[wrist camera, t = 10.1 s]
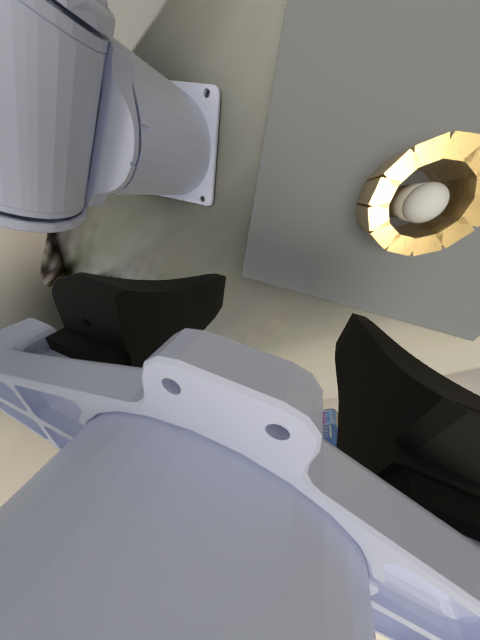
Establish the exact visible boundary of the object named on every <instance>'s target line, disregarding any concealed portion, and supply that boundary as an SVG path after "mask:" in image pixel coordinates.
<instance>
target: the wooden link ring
mask: <svg viewBox="0 0 480 640" xmlns="http://www.w3.org/2000/svg"><path fill="white" fill-rule="evenodd" d="M415 170H417V171H423V172H424V173H425V174H426V175H427V176H428V178H429V179H430V180H431V182H439V183H442V184H444V185H445V186H446V187H447V188H448V190H449V194H450V197H449V202H448V204H447V206H446V207H445V209H444V210H443V211H442V212H441V213H440V214H439V215H438V216H436V217H435V218H433V219H431V220H429V221H426V222H422V223H412V222H409V223H408V224H405V225H401V226H397V227H392V225H391V224H390V223H389V203H390V201H391V199H392V197H393V195H394V193H395V191H396V189H397V188H398V186H399V184H400V183H401V182H403V181H404V180H405V179H406V178H407V177H408V176H409V175H411V174H412V173H413V172H414V171H415ZM367 180H368V181H367V182H365V184H364V186H363V188H362V191H361V193H360V195H359V198H358V200H357V203H360V204H357V205H356V211H357V222H358V223H359V224H358V225H359V226H360V227H361V228H362V229H363V230H364V232H365V233H366V234H367V235H368V236H369V237H370V238H371V239H372V240H374V241H375V242H376V243H377V244H378V245H380V246H381V247H382V248H383V249H385V250H386V251H390V252H394V253H398V254H402V255H406V256H410V255H412V256H417V255H421V254H426V253H431V252H435V251H440V250H442V247H443V248H447V247H449V246H450V245H452V244H454V243H455V242H457V241H458V240H460V239H462V238H463V237H465V236H466V235H468V234H470V233H471V232H473V231H474V228H473V227H472V226H476V227H479V226H480V134H476V133H469V132H461V131H453V132H451V133H450V132H448V133H445V134H443V135H440V136H438V137H435V138H433V139H430V140H428V141H425V142H423V143H420V144H418V145H415V146H413V147H411V148H410V149H408V150H406V151H404V152H402V153H400V154H398V155H396V156H395V157H393V158H391V159H389V160H388V161H386V162H384V163H383V164H382V165H381V166H380V167H379V168H378V169H377V170H376V171H375V172H374V173H373V174H372V175H371V176H370V177H369V178H368V179H367Z"/></svg>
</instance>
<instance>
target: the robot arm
mask: <svg viewBox="0 0 480 640" xmlns="http://www.w3.org/2000/svg"><path fill="white" fill-rule="evenodd" d="M107 6H108V4H107V1H106V0H0V227H4V228H8V229H13V230H18V231H25V232H38V233H39V232H40V233H53V232H62V231H67V230H71V229H73V228H76V227H78V226H79V225H80V224H81V223H82V222H83V221H84V219H85V216H86V209H87V207H86V206H97V205H104V204H105V201H106V199H107V197H108V196H109V195H111V194H138V195H159V196H164V197H168V198H173V199H178V200H182V201H187V202H191V203H196V204H200V205H205V206H211V205H212V204H213V201H214V186H215V172H216V157H217V143H218V128H219V114H220V99H221V93H220V90H219V88H218V87H217V86H216V85H214V84H204V83H193V82H183V81H172V80H168V79H167V78H166V77H164V76H163V75H162V74H160V73H159V72H158V71H156V70H155V69H154V68H152V67H151V66H150V65H149V64H147V63H146V62H145V61H143V60H142V59H141V58H139V57H138V56H137V55H135V54H134V53H133V52H131V51H130V50H129V49H127V48H126V47H125V46H123V45H122V44H121V43H119V42H118V41H117V40H115V39H114V38H113V34H114V28H115V18H114V15H113V13H112V12H111V11H110V9H109V8H108V7H107ZM209 90H210V96H209V97H208V98H206V93H207V91H209ZM203 196H204V198H205V201H204V202H203V201H202V197H203ZM225 280H226V276H223V275H219V274H206V275H200V276H194V277H188V278H180V279H172V280H132V279H121V278H113V277H106V276H100V275H94V274H88V273H76V274H73V275H70V276H66V277H63V278H60V279H57V280H56V281H55V282H54V285H53V288H52V293H53V294H52V295H53V299H54V302H55V305H56V307H57V310H58V312H59V314H60V317H61V319H62V322H63V324H64V326H65V328H63V329H61V330H59V331H56V330H55V329H54V328H53V327H51V326H50V325H48V324H45V323H43V322H41V321H38V320H36V319H33V318H29V319H26V320H24V321H21V322H19V323H16V324H14V325H11V326H9V327H6V328H4V329H2V330H0V410H1V411H2V412H4V413H6V414H7V415H9V416H10V417H12V418H14V419H15V420H17V421H19V422H20V423H21V424H23V425H24V426H26V427H27V428H29V429H30V430H32V431H33V432H35V433H37V434H38V435H39V436H41V437H42V438H44V439H45V440H47V441H48V442H50V443H51V444H52V445H54V446H55V447H57V448H58V449H60V451H59V452H58V453H57V454H56V455H55V456H54V457H53V458H52V459H51V460H49V461H48V462H47V463H46V464H45V465H44V466H43V467H42V468H41V469H40V470H39V471H38V472H37V473H36V474H35V475H34V476H33V477H32V478H31V479H30V480H29V481H28V482H27V483H26V484H24V486H22V487H21V488H20V489H19V490H18V491H17V492H16V493H15V494H14V495H13V496H12V497H11V498H10V499H9V500H8V501H7V502H6V503H5V504H4V505H3V506H2V507H0V640H376V636H375V632H376V633H378V634H380V635H382V636H384V637H386V638H388V639H390V640H480V396H478V395H477V394H474V393H473V392H471V391H469V390H467V389H465V388H463V387H461V386H460V385H458V384H456V383H455V382H453V381H451V380H449V379H448V378H446V377H444V376H443V375H441V374H439V373H438V372H436V371H435V370H433V369H431V368H430V367H428V366H427V365H425V364H424V363H422V362H421V361H420V360H418V359H417V358H415V357H414V356H412V355H411V354H410V353H408V352H407V351H406V350H405V349H403V348H402V347H401V346H400V345H398V344H397V343H396V342H395V341H394V340H392V339H391V338H390V337H389V336H388V335H387V334H386V333H384V332H383V331H382V330H381V329H380V328H379V327H378V326H376V325H375V324H374V323H373V322H372V321H370V320H369V319H368V318H366V317H364V316H360V315H357V314H354V313H352V315H351V317H350V319H349V321H348V322H347V324H346V326H345V328H344V330H343V332H342V333H341V335H340V337H339V339H338V341H337V342H336V350H335V364H336V374H337V384H338V396H339V410H338V431H337V444H336V447H335V446H334V445H332V444H331V443H329V442H328V441H326V440H325V439H324V438H322V437H323V390H322V388H321V387H320V385H319V384H318V382H317V381H316V379H315V377H314V376H313V374H312V373H310V372H308V371H307V370H305V369H303V368H302V367H300V366H298V365H297V364H295V363H293V362H292V361H289V360H286V359H283V358H280V357H277V356H275V355H272V354H269V353H266V352H263V351H261V350H258V349H255V348H252V347H249V346H247V345H244V344H241V343H238V342H235V341H232V340H230V339H227V338H224V337H221V336H218V335H216V334H213V333H210V332H207V331H204V329H205V328H206V327H207V326H208V325H209V324H210V322H211V321H212V320H213V319H214V318H215V317H216V315H217V314H218V312H219V311H220V309H221V307H222V304H223V296H224V288H225Z"/></svg>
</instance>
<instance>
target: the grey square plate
mask: <svg viewBox="0 0 480 640" xmlns="http://www.w3.org/2000/svg"><path fill="white" fill-rule="evenodd" d="M453 131H461V132H469V133H476V134H480V0H287V3H286V9H285V15H284V21H283V27H282V33H281V39H280V45H279V52H278V58H277V64H276V70H275V76H274V82H273V88H272V94H271V100H270V106H269V112H268V118H267V124H266V130H265V136H264V142H263V148H262V154H261V160H260V166H259V172H258V178H257V184H256V190H255V196H254V202H253V208H252V214H251V220H250V226H249V232H248V238H247V244H246V250H245V256H244V262H243V268H242V274H241V276H242V277H246V278H249V279H253V280H257V281H260V282H264V283H267V284H271V285H274V286H278V287H281V288H285V289H289V290H292V291H296V292H299V293H303V294H306V295H310V296H314V297H317V298H321V299H324V300H328V301H331V302H335V303H339V304H342V305H346V306H349V307H353V308H356V309H360V310H364V311H367V312H371V313H374V314H378V315H381V316H385V317H389V318H392V319H396V320H399V321H403V322H406V323H410V324H414V325H417V326H421V327H424V328H428V329H431V330H435V331H439V332H442V333H446V334H449V335H453V336H456V337H460V338H463V339H467V340H471V341H474V340H475V339H476V338H477V337H478V336H479V335H480V226H479V227H476V226H472V227H473V228H474V231H473V232H471V233H470V234H468V235H466V236H465V237H463V238H462V239H460V240H458V241H457V242H455V243H454V244H452V245H450V246H449V247H447V248H443V247H442V250H440V251H435V252H431V253H426V254H421V255H417V256H412V255H410V256H406V255H402V254H398V253H394V252H390V251H386V250H385V249H383V248H382V247H381V246H380V245H378V244H377V243H376V242H375V241H374V240H372V239H371V238H370V237H369V236H368V235H367V234H366V233H365V232H364V230H363V229H362V228H361V227H360V226H359V225H358V224H359V223H358V222H357V211H356V205H357V204H360V203H357V200H358V198H359V195H360V193H361V191H362V188H363V186H364V184H365V182H367V181H368V180H367V179H368V178H369V177H370V176H371V175H372V174H373V173H374V172H375V171H376V170H377V169H378V168H379V167H380V166H381V165H382V164H383V163H384V162H386V161H388V160H389V159H391V158H393V157H395V156H396V155H398V154H400V153H402V152H404V151H406V150H408V149H410V148H411V147H413V146H415V145H418V144H420V143H423V142H425V141H428V140H430V139H433V138H435V137H438V136H440V135H443V134H445V133H448V132H450V133H451V132H453ZM449 197H450V194H449V190H448V188H447V187H446V186H445V185H444V184H442V183H439V182H431V180H430V179H429V178H428V176H427V175H426V174H425V173H424V172H423V171H417V170H415V171H414V172H413V173H412V174H411V175H409V176H408V177H407V178H406V179H405V180H404V181H403V182H401V183H400V184H399V186H398V188H397V189H396V191H395V193H394V195H393V197H392V199H391V201H390V203H389V223H390V224H391V225H392V227H397V226H401V225H405V224H408V223H409V222H412V223H422V222H426V221H429V220H431V219H433V218H435V217H436V216H438V215H439V214H440V213H441V212H442V211H443V210H444V209H445V207H446V206H447V204H448V202H449Z"/></svg>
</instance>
